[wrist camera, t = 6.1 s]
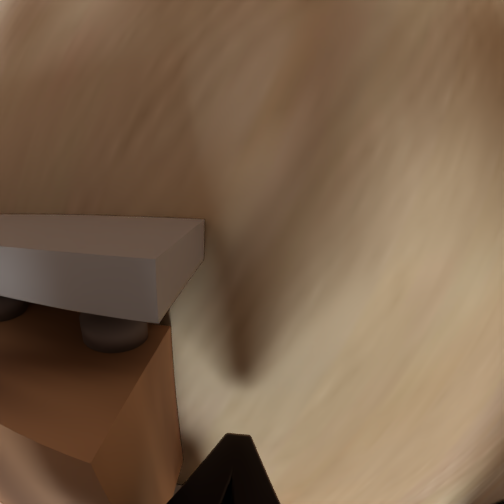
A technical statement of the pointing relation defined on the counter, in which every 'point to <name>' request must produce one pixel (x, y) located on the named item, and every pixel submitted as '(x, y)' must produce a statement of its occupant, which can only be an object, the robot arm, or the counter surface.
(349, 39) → the counter surface
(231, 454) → the robot arm
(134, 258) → the dock
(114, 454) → the brown toy brick
